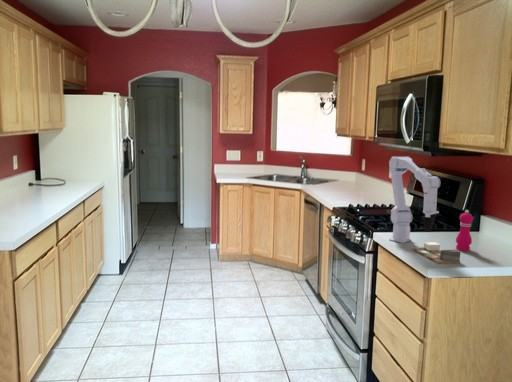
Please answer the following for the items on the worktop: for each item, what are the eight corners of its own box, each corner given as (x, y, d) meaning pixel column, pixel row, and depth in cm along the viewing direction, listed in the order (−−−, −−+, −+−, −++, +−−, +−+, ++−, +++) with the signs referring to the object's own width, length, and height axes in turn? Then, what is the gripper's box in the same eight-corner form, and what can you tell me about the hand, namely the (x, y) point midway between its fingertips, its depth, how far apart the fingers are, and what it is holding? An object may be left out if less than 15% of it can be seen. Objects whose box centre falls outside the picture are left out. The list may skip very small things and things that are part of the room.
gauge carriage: (416, 248, 216) (417, 242, 215) (434, 247, 218) (435, 242, 217) (421, 251, 212) (421, 245, 211) (439, 250, 214) (440, 244, 213)
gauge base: (411, 249, 219) (412, 239, 218) (432, 248, 221) (433, 239, 220) (437, 263, 198) (438, 252, 198) (460, 262, 201) (461, 251, 200)
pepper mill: (465, 252, 217) (470, 212, 213) (451, 248, 223) (456, 209, 219) (473, 250, 221) (478, 210, 218) (459, 246, 227) (464, 207, 223)
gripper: (437, 204, 203) (436, 233, 205) (440, 200, 216) (439, 228, 218) (421, 203, 206) (419, 232, 208) (425, 199, 219) (423, 227, 221)
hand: (428, 230), depth 213 cm, fingers open, 7 cm apart
